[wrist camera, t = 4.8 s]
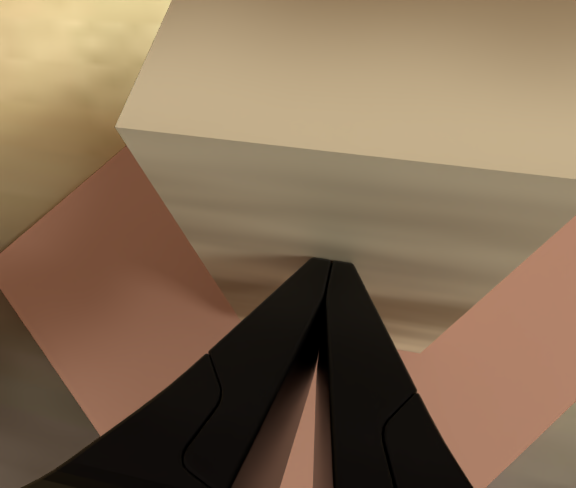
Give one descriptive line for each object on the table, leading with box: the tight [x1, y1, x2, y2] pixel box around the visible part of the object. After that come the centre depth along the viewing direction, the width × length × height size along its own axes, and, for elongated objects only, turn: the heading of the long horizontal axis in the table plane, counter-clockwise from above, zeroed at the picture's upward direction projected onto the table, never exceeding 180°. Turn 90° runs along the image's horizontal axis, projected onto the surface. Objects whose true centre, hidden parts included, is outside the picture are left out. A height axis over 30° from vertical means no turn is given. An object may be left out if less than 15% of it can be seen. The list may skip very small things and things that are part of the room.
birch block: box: [115, 0, 576, 353], centre depth 10 cm, size 4×6×10 cm, turn 80°
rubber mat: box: [0, 145, 576, 488], centre depth 16 cm, size 20×18×1 cm
